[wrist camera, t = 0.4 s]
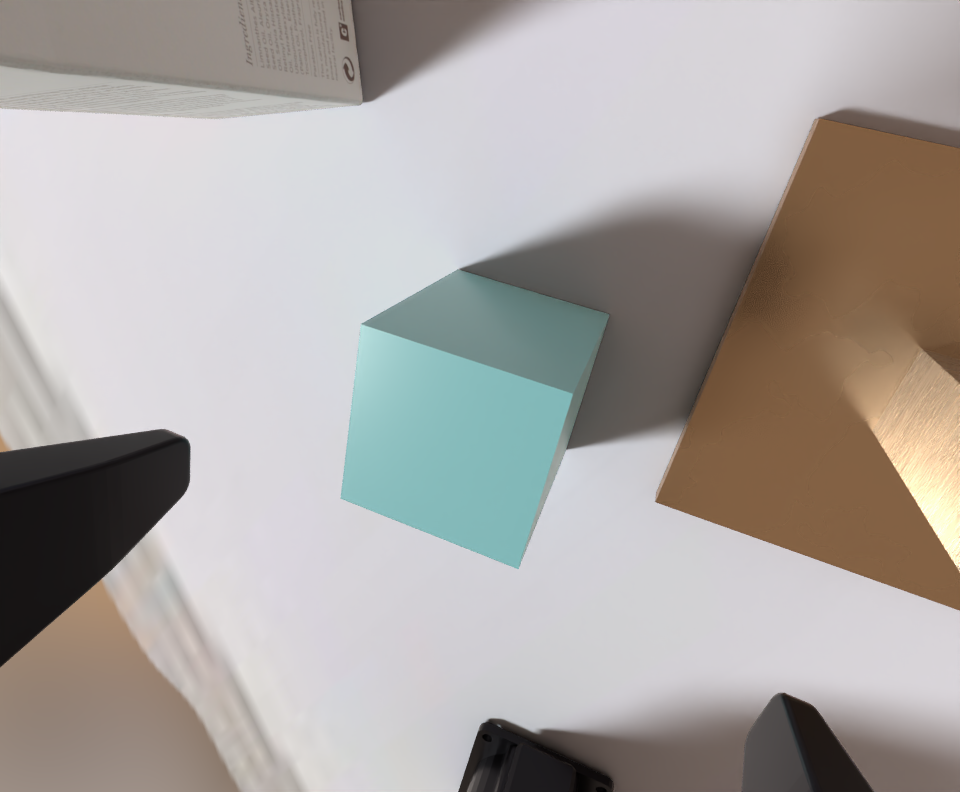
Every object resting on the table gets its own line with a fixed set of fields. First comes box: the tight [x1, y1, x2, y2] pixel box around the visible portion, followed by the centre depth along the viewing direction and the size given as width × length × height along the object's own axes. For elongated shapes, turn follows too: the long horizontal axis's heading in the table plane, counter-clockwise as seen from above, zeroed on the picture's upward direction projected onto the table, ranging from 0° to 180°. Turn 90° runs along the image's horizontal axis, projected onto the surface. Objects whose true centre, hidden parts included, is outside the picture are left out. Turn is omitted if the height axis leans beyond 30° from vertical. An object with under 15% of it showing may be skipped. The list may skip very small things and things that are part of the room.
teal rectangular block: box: [341, 270, 610, 569], centre depth 17 cm, size 5×5×7 cm
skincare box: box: [0, 0, 363, 119], centre depth 13 cm, size 6×4×12 cm
